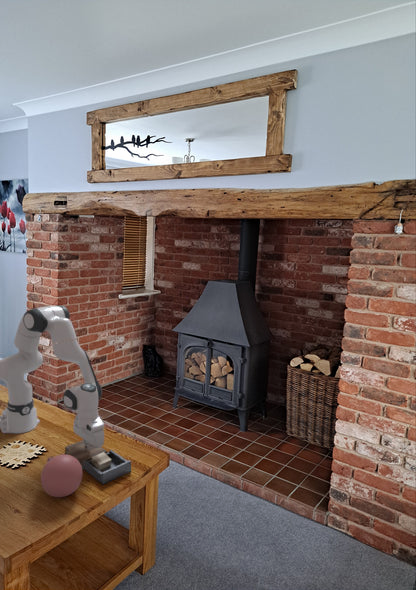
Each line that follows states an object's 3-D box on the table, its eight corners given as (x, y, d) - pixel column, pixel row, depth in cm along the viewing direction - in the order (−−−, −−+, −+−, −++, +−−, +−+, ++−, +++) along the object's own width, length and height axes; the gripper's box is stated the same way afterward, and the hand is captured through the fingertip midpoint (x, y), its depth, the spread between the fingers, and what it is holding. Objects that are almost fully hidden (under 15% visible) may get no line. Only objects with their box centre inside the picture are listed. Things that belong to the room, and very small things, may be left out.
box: (82, 468, 185) (82, 458, 184) (109, 456, 195) (109, 446, 194) (103, 485, 174) (103, 473, 173) (130, 471, 184) (131, 461, 184)
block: (91, 462, 187) (92, 456, 186) (103, 457, 191) (103, 452, 190) (98, 470, 183) (99, 464, 182) (110, 465, 187) (111, 459, 187)
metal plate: (65, 452, 197) (65, 446, 196) (88, 443, 205) (88, 438, 205) (83, 467, 186) (83, 460, 186) (107, 457, 195) (107, 451, 194)
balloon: (71, 472, 182) (71, 438, 180) (88, 497, 166) (88, 460, 164) (33, 483, 173) (32, 448, 171) (47, 511, 157) (46, 473, 155)
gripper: (69, 414, 196) (69, 441, 198) (94, 430, 182) (93, 460, 185) (82, 410, 201) (82, 437, 203) (106, 425, 187) (106, 455, 189)
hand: (87, 448), depth 194 cm, fingers closed
